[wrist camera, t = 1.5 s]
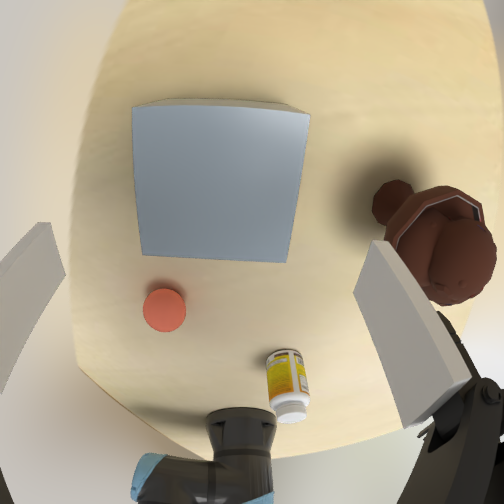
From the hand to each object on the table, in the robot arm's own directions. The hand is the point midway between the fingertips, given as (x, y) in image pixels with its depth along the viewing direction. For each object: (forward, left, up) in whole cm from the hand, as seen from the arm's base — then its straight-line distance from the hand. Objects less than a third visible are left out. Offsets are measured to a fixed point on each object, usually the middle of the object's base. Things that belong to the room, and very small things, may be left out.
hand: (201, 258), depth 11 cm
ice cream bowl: (-3, -18, -17) cm, 25 cm away
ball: (-17, +6, -14) cm, 23 cm away
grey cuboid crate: (0, 0, -16) cm, 16 cm away
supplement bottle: (-29, -10, -17) cm, 35 cm away
